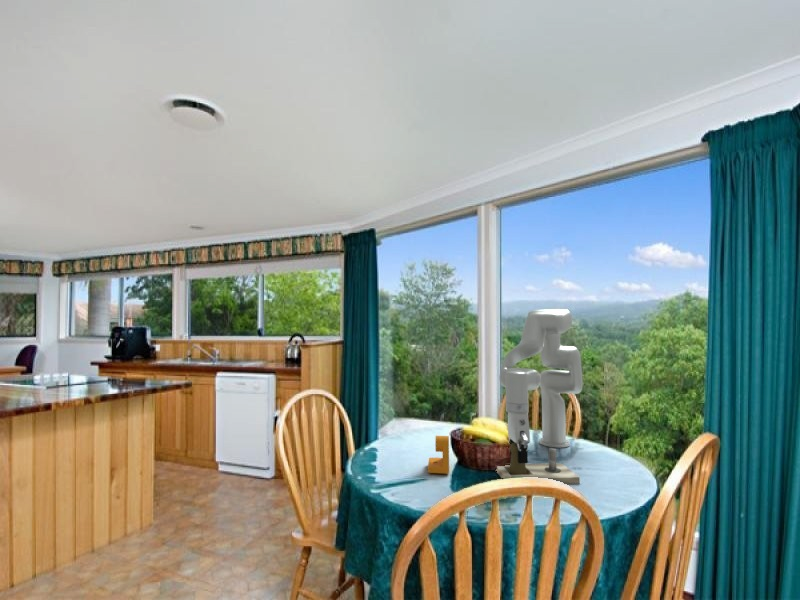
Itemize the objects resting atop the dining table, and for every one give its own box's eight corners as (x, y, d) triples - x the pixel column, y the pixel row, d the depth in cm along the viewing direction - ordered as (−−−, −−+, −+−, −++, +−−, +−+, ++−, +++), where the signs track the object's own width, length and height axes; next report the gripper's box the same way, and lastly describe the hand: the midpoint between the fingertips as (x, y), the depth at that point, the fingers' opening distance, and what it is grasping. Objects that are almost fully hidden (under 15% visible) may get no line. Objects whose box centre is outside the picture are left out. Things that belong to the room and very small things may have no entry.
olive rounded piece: (509, 478, 144) (509, 445, 144) (508, 472, 150) (507, 440, 150) (528, 479, 143) (527, 446, 143) (525, 473, 149) (525, 441, 149)
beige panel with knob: (495, 470, 152) (494, 444, 153) (561, 468, 153) (561, 443, 154) (506, 484, 138) (506, 456, 139) (579, 483, 139) (579, 455, 140)
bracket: (429, 464, 158) (429, 431, 159) (448, 465, 157) (448, 432, 158) (427, 475, 147) (427, 439, 148) (449, 476, 147) (448, 440, 147)
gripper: (537, 412, 138) (538, 466, 138) (519, 402, 156) (520, 450, 155) (514, 413, 138) (515, 467, 137) (499, 402, 155) (500, 450, 154)
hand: (518, 458), depth 146 cm, fingers open, 9 cm apart
